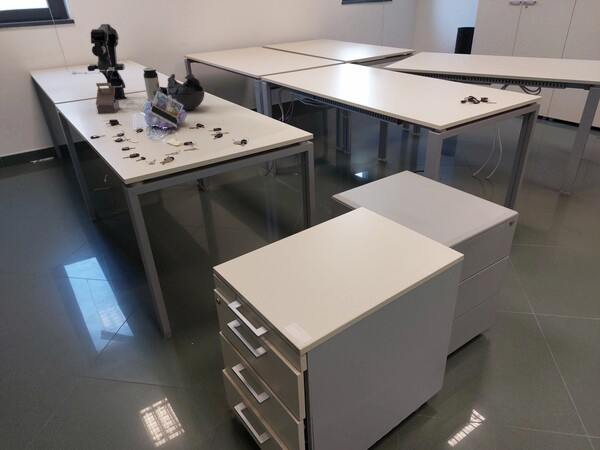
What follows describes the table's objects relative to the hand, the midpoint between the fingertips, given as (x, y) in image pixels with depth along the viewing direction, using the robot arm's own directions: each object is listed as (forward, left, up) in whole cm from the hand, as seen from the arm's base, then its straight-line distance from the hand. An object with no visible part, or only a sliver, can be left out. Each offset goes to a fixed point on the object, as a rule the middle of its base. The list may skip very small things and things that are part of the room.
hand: (109, 83), depth 239 cm
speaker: (-17, +24, -12) cm, 32 cm away
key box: (+9, +11, -12) cm, 19 cm away
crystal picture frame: (+3, +60, -12) cm, 62 cm away
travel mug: (-22, +7, -12) cm, 26 cm away
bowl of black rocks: (-22, +42, -12) cm, 49 cm away
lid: (+9, +12, -4) cm, 15 cm away
